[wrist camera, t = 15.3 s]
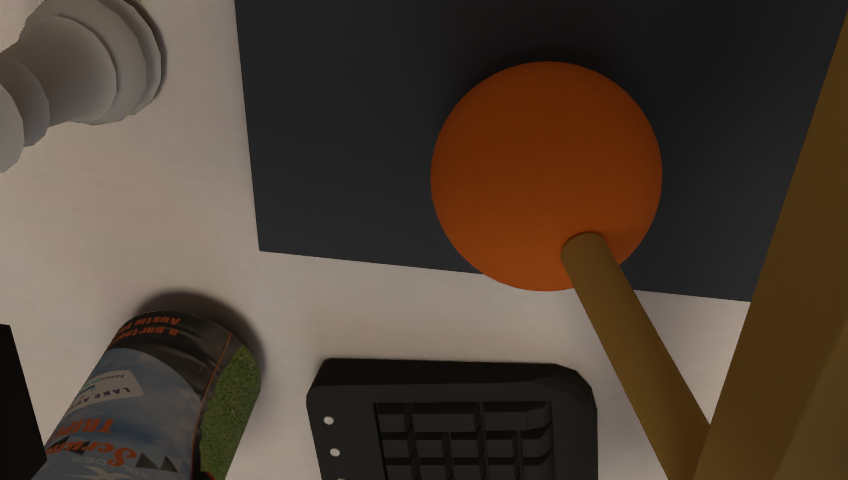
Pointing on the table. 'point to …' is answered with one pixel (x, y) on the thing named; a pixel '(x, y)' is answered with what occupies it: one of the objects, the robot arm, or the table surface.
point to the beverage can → (158, 405)
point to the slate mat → (507, 47)
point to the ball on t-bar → (624, 230)
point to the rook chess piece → (74, 70)
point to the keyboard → (452, 421)
